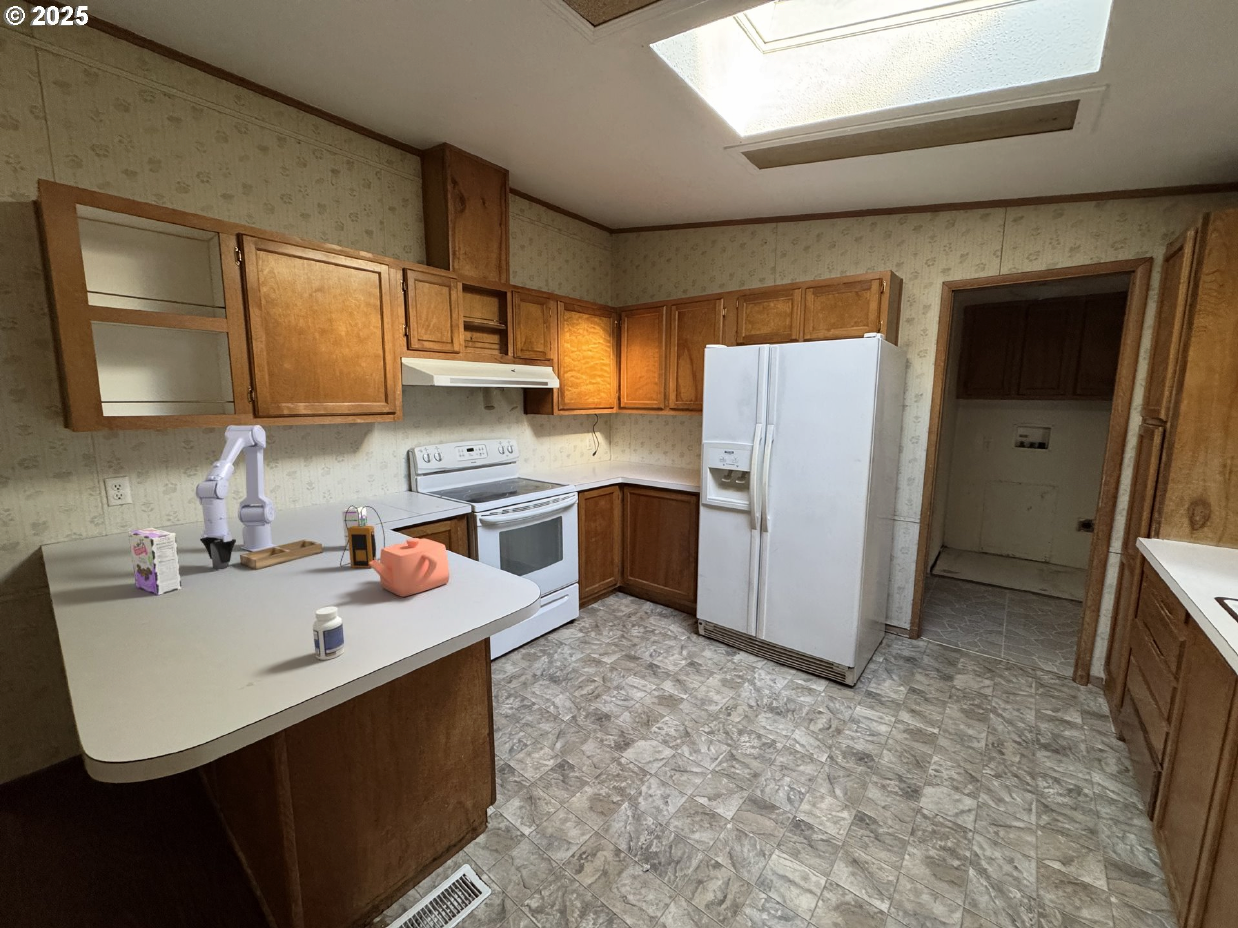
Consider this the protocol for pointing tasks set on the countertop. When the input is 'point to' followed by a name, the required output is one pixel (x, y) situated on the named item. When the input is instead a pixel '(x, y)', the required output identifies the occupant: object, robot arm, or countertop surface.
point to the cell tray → (280, 554)
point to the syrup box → (353, 520)
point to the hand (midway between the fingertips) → (220, 560)
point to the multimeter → (361, 543)
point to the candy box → (155, 560)
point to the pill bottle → (328, 633)
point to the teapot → (412, 566)
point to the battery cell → (217, 559)
